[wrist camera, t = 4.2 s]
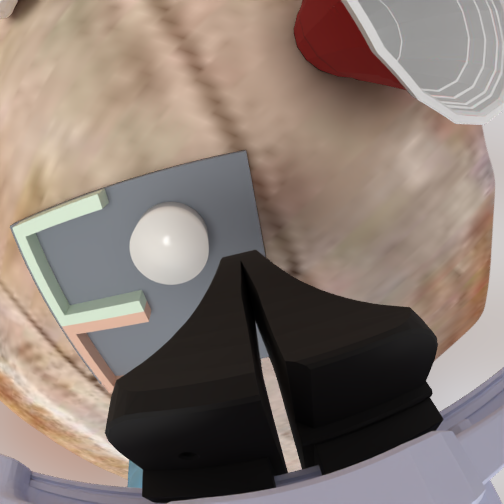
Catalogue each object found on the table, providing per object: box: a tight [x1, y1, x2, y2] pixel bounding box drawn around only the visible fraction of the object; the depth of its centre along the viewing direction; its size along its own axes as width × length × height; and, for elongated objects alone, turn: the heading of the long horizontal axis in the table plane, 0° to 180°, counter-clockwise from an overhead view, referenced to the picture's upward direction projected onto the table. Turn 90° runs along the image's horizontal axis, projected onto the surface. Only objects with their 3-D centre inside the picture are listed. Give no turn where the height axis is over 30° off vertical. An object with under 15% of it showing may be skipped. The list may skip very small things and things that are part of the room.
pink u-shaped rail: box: [62, 301, 151, 393], centre depth 22 cm, size 9×8×1 cm
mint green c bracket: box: [12, 189, 147, 326], centre depth 18 cm, size 9×8×1 cm
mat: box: [10, 150, 269, 384], centre depth 21 cm, size 18×19×1 cm
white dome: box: [129, 202, 209, 285], centre depth 18 cm, size 5×5×2 cm
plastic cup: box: [294, 0, 504, 125], centre depth 10 cm, size 11×11×12 cm
